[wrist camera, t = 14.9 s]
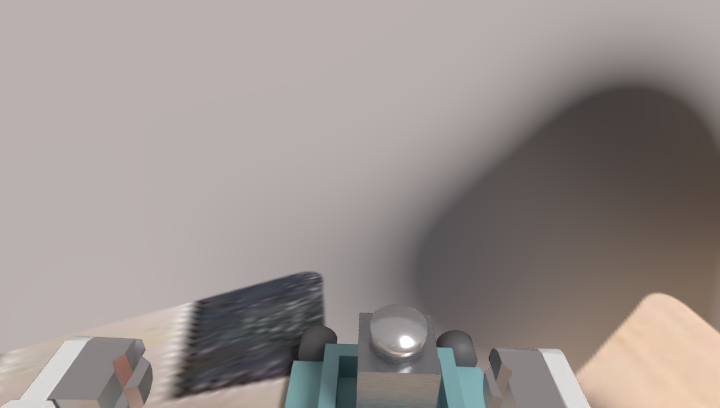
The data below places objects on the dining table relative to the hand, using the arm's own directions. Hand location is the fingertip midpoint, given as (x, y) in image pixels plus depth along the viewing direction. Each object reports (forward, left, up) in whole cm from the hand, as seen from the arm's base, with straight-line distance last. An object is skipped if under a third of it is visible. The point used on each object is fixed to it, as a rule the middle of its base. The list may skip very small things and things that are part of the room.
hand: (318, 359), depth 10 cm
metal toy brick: (+4, +13, -21) cm, 25 cm away
